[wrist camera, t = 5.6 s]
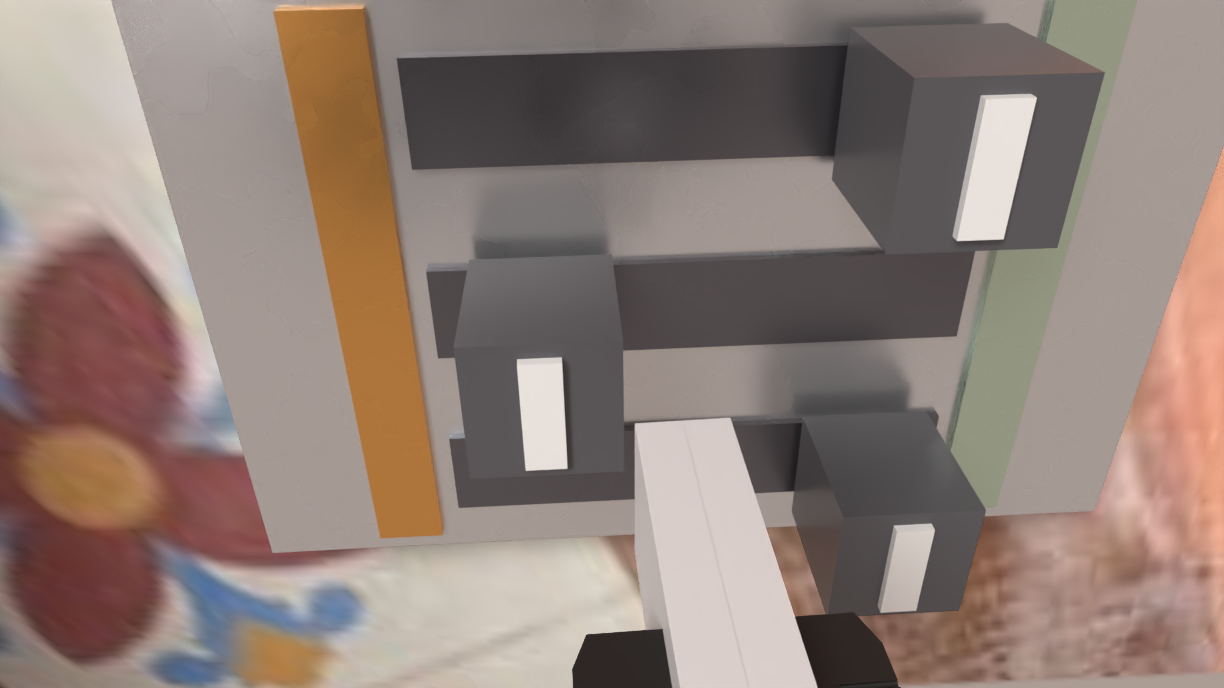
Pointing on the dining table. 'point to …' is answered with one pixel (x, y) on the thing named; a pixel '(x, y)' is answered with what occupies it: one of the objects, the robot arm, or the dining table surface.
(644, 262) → the panel
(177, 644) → the dining table surface
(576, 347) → the breaker
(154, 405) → the dining table surface
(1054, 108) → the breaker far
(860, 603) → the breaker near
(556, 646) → the dining table surface
